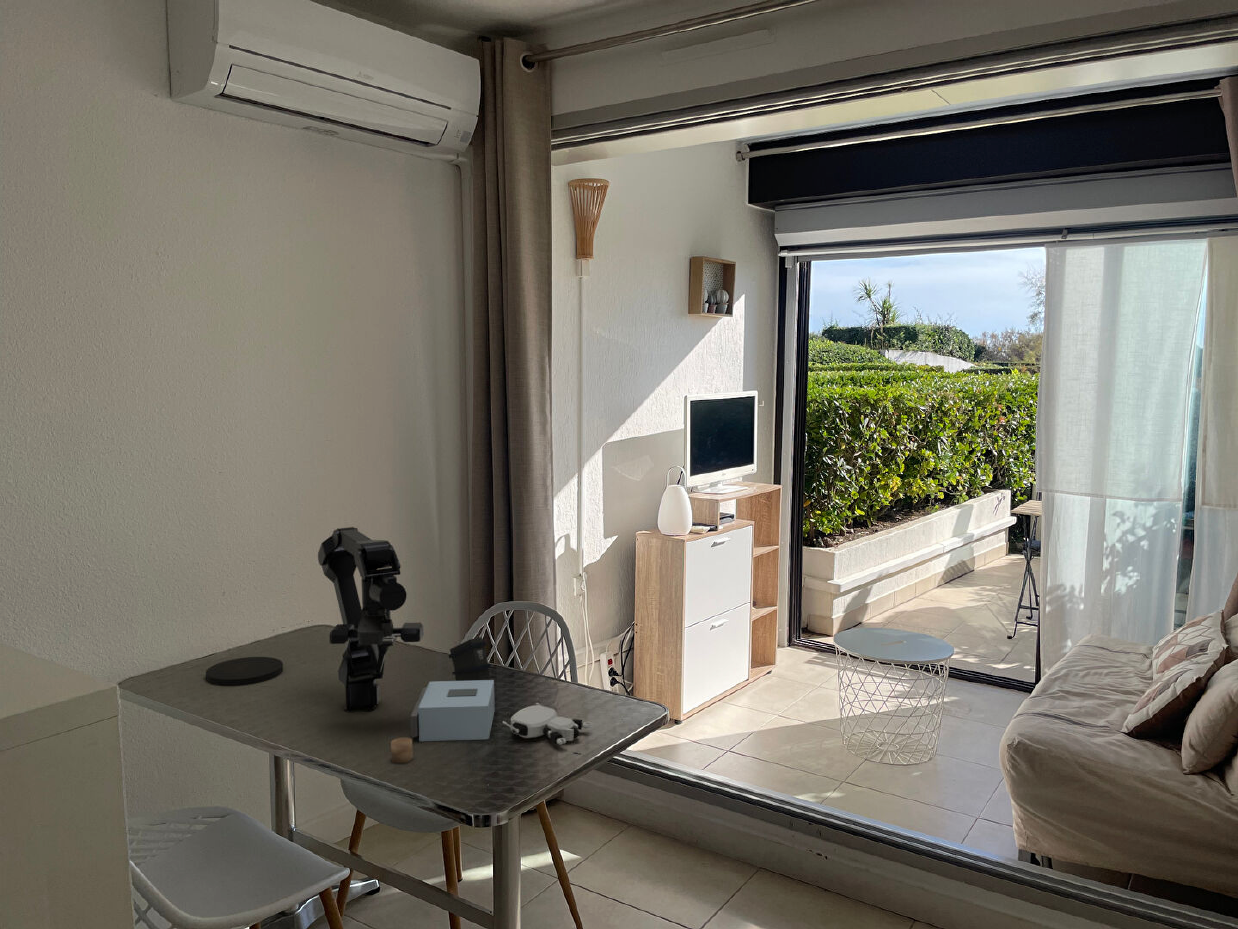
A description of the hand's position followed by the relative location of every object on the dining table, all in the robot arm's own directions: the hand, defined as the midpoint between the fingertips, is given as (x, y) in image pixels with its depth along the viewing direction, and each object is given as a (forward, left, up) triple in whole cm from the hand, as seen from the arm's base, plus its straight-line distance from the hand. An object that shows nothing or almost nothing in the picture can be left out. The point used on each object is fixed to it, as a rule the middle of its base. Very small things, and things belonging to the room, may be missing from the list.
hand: (378, 672), depth 197 cm
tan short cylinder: (+8, -19, -11) cm, 24 cm away
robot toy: (+36, -10, -11) cm, 39 cm away
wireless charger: (-40, +35, -12) cm, 54 cm away
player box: (+17, -3, -11) cm, 20 cm away
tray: (+15, -3, -10) cm, 19 cm away
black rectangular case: (+18, +13, -11) cm, 25 cm away
